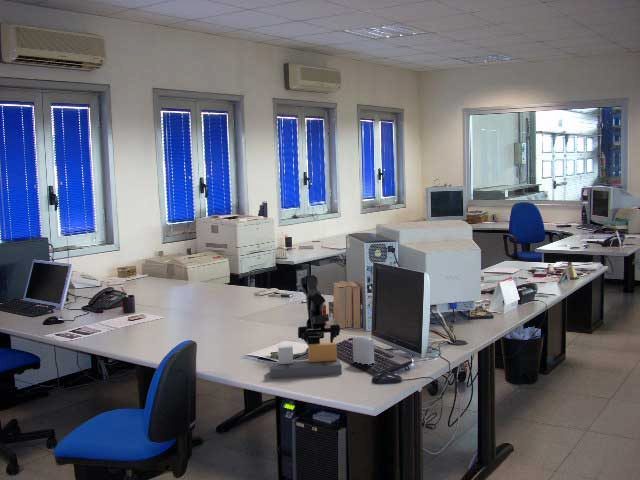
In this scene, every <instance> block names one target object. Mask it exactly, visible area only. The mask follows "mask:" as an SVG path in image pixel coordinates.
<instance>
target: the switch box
mask: <svg viewBox="0 0 640 480" xmlns="http://www.w3.org/2000/svg"><path fill="white" fill-rule="evenodd" d="M268 365H269V375H270V379H271V380H275V379H289V378H290V379H291V378H301V377H303V378H304V377H318V376H332V375H342V373H343V369H342V363H341V362H340V359H339V358H337V360H333V361H318V362H309V359H308V360H296V361H295V360H293V363H289V364H279V362H269V364H268Z"/></svg>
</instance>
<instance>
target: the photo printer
mask: <svg viewBox="0 0 640 480" xmlns="http://www.w3.org/2000/svg"><path fill="white" fill-rule="evenodd" d="M374 343H375V342H374V340H373V339H372V338H370V337H368V336H365V335H358V336H354V337H353V338H352V354H353V357H352V359H353V361H352V362H353V363H355V362H357V363H356V364H359V363H361V365H364V364H368V365H367V366H370V365H369V364H372V363H374V364H375V347H374Z"/></svg>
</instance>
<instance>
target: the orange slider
mask: <svg viewBox="0 0 640 480" xmlns="http://www.w3.org/2000/svg"><path fill="white" fill-rule="evenodd" d="M337 346H338V345H337V343H336V342H333V343H330V342H325V343H320V344H308V345H307V348H308V351H307V352H308V360H309V362H318V361H333V360H337V359H338V351H337V350H338V347H337Z"/></svg>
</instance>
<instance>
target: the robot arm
mask: <svg viewBox="0 0 640 480" xmlns="http://www.w3.org/2000/svg"><path fill="white" fill-rule="evenodd" d="M318 279H319V278H318V277H317V276H316V275H314V274H307V275H305V276H303V277H301V278H300V280H299V282H300V284H299V285H300V288H301V291H302V293H303V294H304V295H305V298H306V299H305V301H306V310H307V317H308V319H307V320H306V324H305V326H298V328H297V338H299V339H301V340H303V341H304V342H305V343H306V344H307V346H308V344H321V339H324V338H325V333H329V335H330V336H329V343H334V339H335V338H337V336H340V331H341V326H340V325H339V324H338V323H337V324H330V327H326V322H327V323H328V322H329V320H330V317H329V316H330V315H329V313H323V309H324V305H325V303H326V299H325V297H324V296H323V295H322V293H321V291H320V290H318V285H319V280H318ZM305 350H306V351H307V352H308V347H307V348H305Z"/></svg>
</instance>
